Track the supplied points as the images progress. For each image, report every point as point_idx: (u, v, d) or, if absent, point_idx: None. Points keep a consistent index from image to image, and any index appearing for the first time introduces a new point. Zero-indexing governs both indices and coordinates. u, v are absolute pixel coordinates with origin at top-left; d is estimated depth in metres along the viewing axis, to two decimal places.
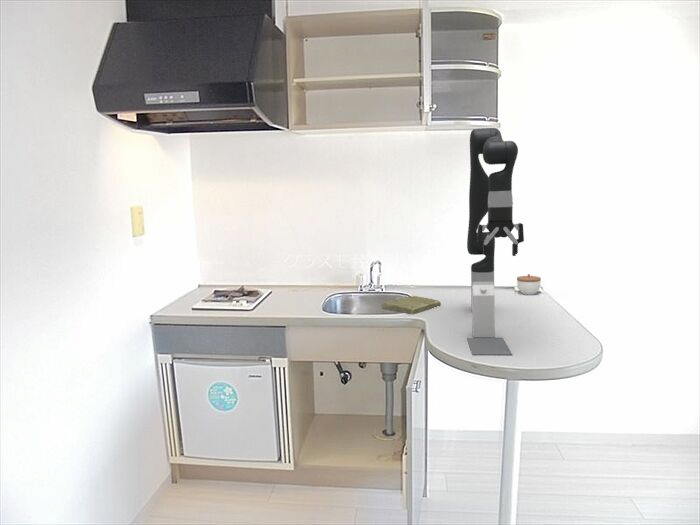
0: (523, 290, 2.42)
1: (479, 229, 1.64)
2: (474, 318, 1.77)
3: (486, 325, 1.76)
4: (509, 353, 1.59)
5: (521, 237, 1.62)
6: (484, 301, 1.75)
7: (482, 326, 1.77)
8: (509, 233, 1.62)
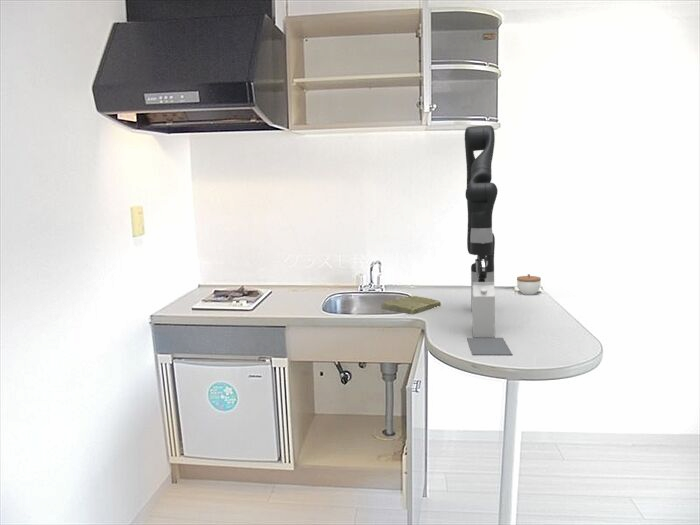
0: (523, 290, 2.42)
1: (486, 269, 1.75)
2: (474, 319, 1.76)
3: (486, 325, 1.76)
4: (509, 353, 1.59)
5: None
6: (484, 302, 1.74)
7: (482, 326, 1.76)
8: None
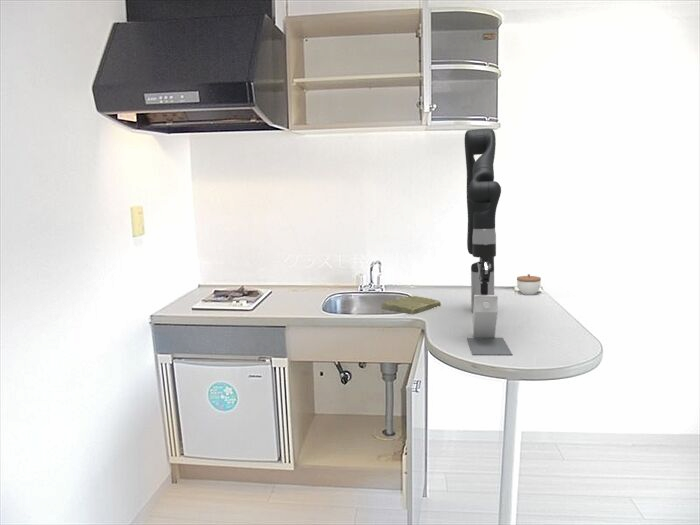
0: (523, 290, 2.42)
1: (489, 272, 1.65)
2: (475, 326, 1.73)
3: (487, 330, 1.74)
4: (509, 353, 1.59)
5: None
6: (486, 316, 1.68)
7: (482, 330, 1.74)
8: None
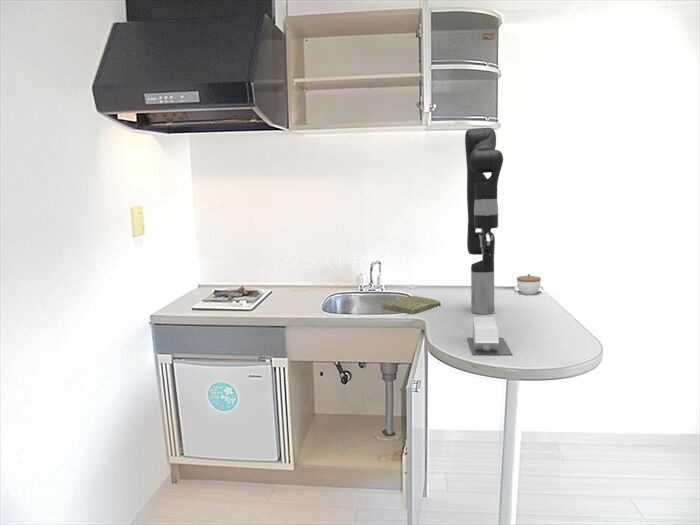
0: (523, 290, 2.42)
1: (492, 244, 1.62)
2: None
3: None
4: (509, 353, 1.59)
5: None
6: None
7: None
8: None
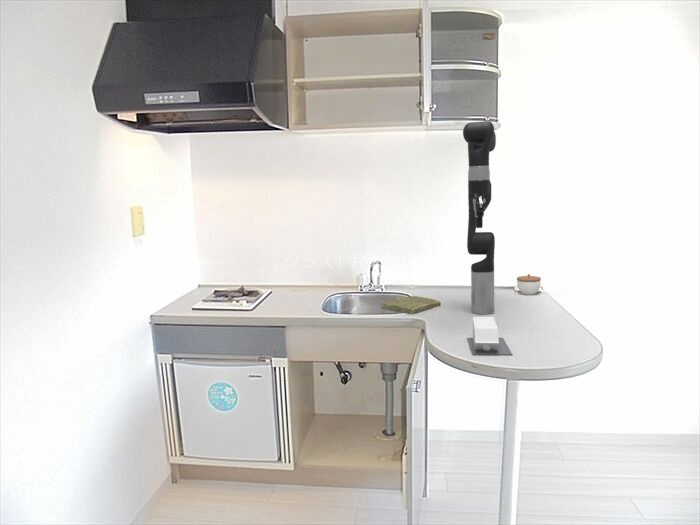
0: (523, 290, 2.42)
1: (484, 206, 1.79)
2: None
3: None
4: (509, 353, 1.59)
5: (481, 211, 1.87)
6: None
7: None
8: None
